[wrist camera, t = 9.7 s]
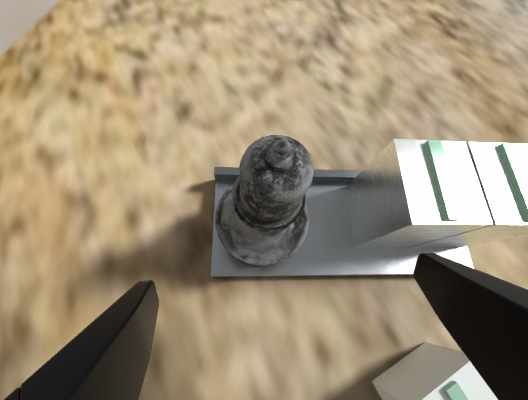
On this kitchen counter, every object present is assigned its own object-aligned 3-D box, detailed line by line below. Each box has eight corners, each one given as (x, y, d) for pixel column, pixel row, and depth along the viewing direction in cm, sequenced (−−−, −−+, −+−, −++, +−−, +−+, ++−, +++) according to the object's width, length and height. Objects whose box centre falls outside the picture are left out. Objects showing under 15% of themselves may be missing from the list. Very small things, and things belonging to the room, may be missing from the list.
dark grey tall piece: (203, 225, 19) (148, 126, 8) (263, 180, 21) (290, 45, 9) (253, 288, 18) (277, 281, 6) (313, 235, 19) (413, 156, 8)
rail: (462, 274, 21) (602, 262, 13) (212, 277, 19) (191, 266, 11) (437, 183, 23) (539, 127, 15) (217, 179, 22) (203, 112, 14)
